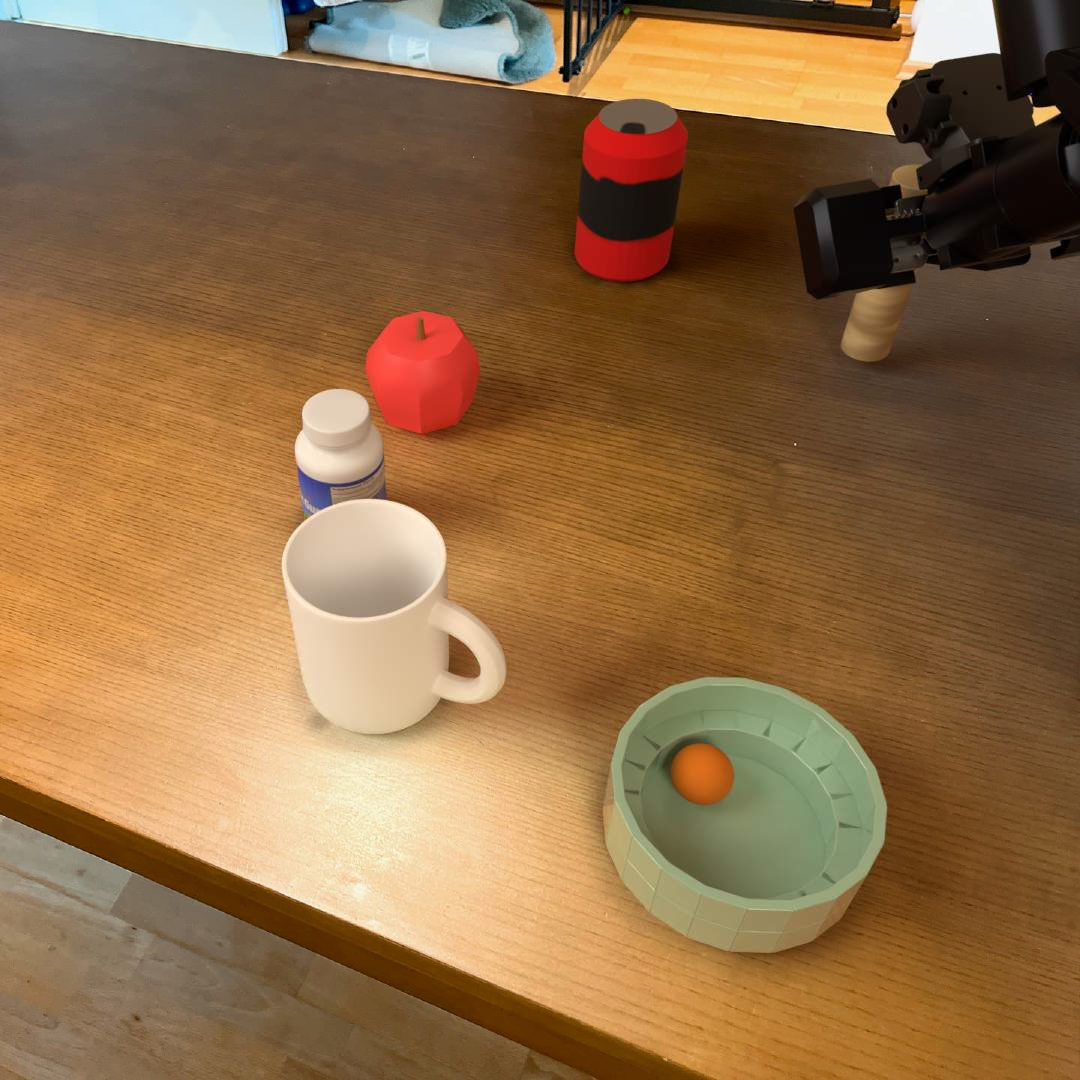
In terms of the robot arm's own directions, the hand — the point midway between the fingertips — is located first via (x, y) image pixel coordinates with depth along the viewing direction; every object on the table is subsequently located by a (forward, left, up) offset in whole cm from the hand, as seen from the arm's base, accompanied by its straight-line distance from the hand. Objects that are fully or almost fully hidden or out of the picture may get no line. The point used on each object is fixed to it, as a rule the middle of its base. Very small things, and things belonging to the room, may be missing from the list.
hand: (880, 256), depth 72 cm
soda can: (+18, -8, -8) cm, 21 cm away
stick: (-1, +1, -7) cm, 7 cm away
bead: (+4, +39, -6) cm, 40 cm away
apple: (+27, +15, -8) cm, 32 cm away
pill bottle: (+28, +27, -8) cm, 40 cm away
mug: (+20, +38, -8) cm, 44 cm away
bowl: (+2, +41, -8) cm, 42 cm away
